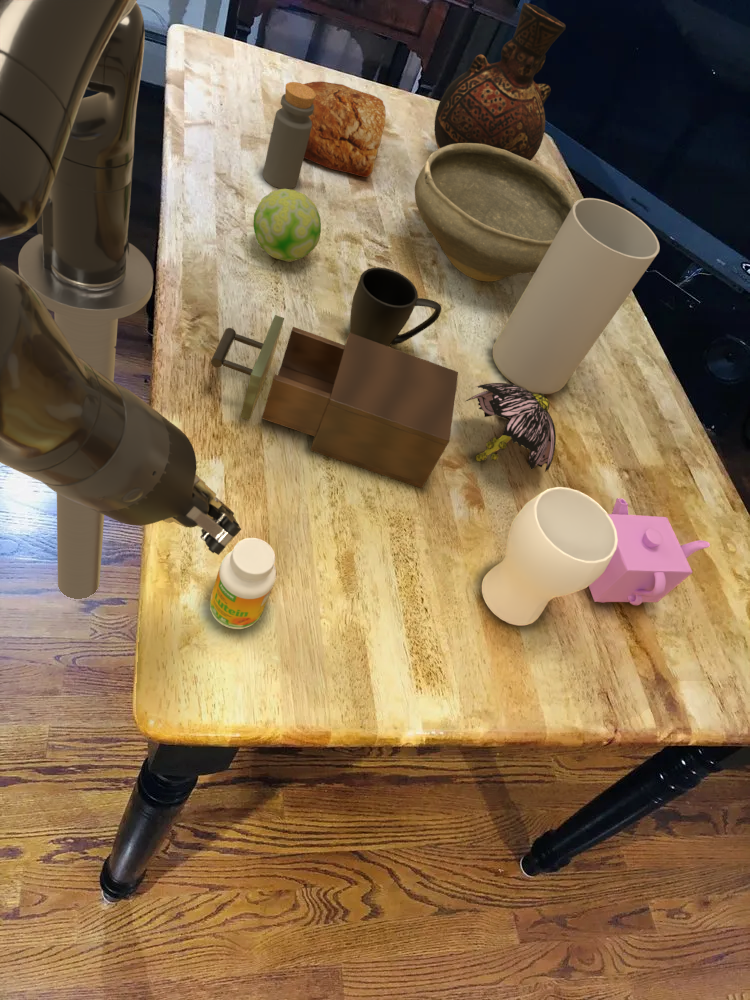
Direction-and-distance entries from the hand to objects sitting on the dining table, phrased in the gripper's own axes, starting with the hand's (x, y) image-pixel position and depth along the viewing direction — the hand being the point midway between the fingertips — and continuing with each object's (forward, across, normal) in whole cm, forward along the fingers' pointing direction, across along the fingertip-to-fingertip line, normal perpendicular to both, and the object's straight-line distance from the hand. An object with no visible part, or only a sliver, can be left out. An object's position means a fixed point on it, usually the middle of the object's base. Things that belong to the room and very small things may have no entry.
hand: (220, 518), depth 64 cm
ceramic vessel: (+70, +45, -76) cm, 112 cm away
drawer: (+26, +18, -14) cm, 34 cm away
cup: (+32, -19, -13) cm, 39 cm away
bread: (+54, +62, -58) cm, 101 cm away
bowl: (+57, +26, -56) cm, 84 cm away
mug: (+39, +19, -30) cm, 53 cm away
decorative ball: (+37, +41, -31) cm, 63 cm away
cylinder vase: (+52, +4, -44) cm, 68 cm away
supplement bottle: (+14, -1, +7) cm, 16 cm away
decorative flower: (+41, -4, -28) cm, 50 cm away
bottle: (+44, +56, -44) cm, 83 cm away
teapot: (+41, -25, -24) cm, 54 cm away
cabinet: (+32, +8, -18) cm, 37 cm away
